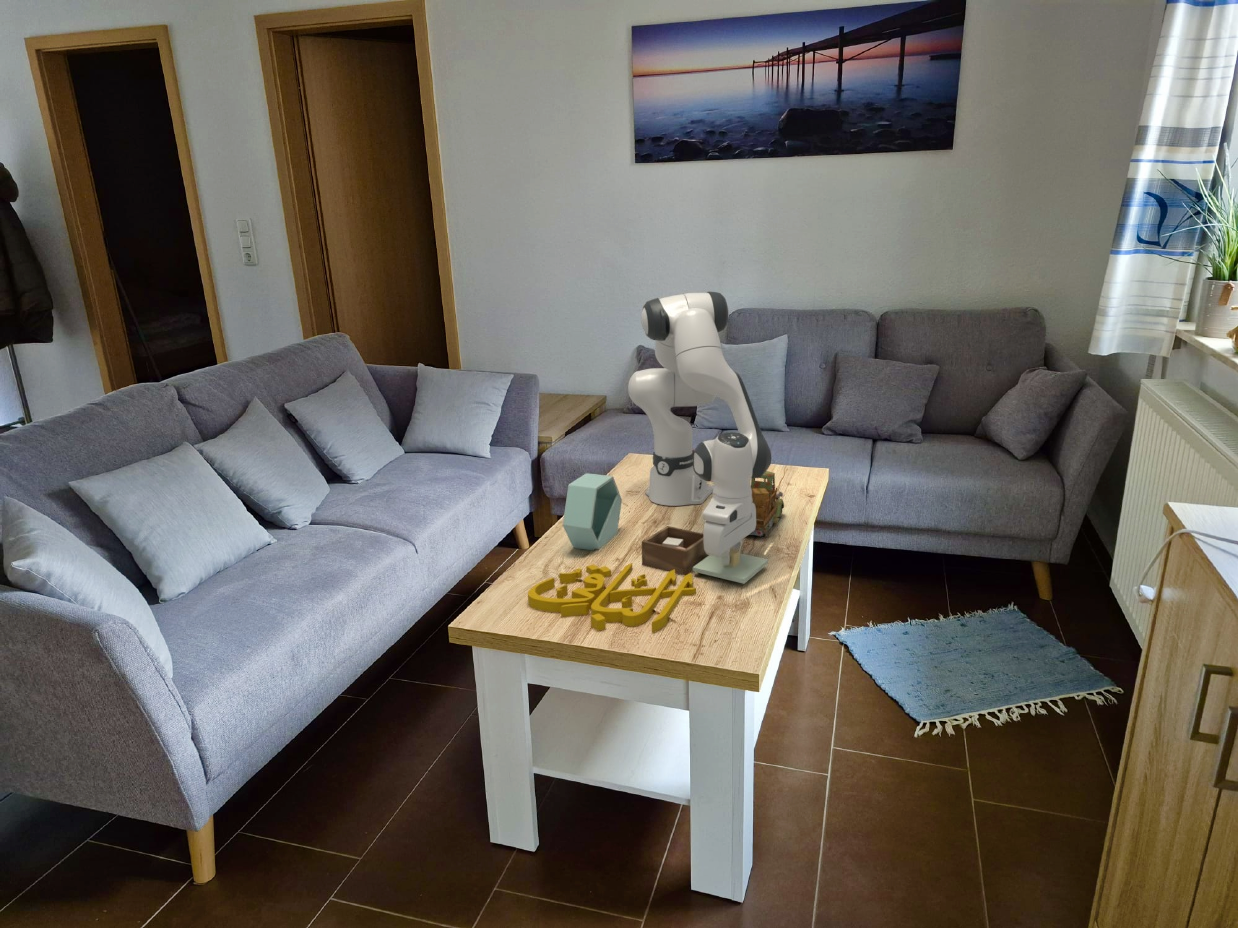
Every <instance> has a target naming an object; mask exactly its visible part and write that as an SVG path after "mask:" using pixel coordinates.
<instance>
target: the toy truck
mask: <svg viewBox="0 0 1238 928" xmlns="http://www.w3.org/2000/svg"><path fill="white" fill-rule="evenodd" d="M775 476H776V473H775V472H772V471H768V470H767V471H766V472H765V473H764V474H763V475H762V476H761V477H760V478H759V479H763V481H759V480H756V478H751V481H750V485H751V489H752V499H753V501H752V503H754V504H755V508H756V528H755V530H754V531H753V532H752V533H750V534H749V535H751V536H758V537H760V538H763V539H767V538H768V535H769V530H770V529H771V528H772V526H773V524H777V523H778V522H779V520H780V519H781V517H782V515H783V510H784V508H785V504H784V503H785V502H784V500H783V499H782V497H784V494H783V492H782V491H779V492H778V487H776V479H775Z"/></svg>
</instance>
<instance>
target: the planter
mask: <svg viewBox="0 0 1238 928" xmlns="http://www.w3.org/2000/svg"><path fill="white" fill-rule="evenodd" d="M616 483H617V482H616V480H615V477H614V476H613V475H604V474H597V473H588V472H586V473H584V474H583V475H581V476H579V477H578V478H577V479H575V480H573V481H571V483H569V484H568V485H567V491H566V492H567V494H566V501H565V506H564V514H563V519H562V527H563V529H564V532H565V533H566V536H567V538H568V540H569V542H570V543H571V546H572V548H573V549H580V550H586V551H595V550H600V549H602V548H603V547H604V546H605V545H606V544H607V543H609V542H610V541H611V540H612V539H613V538H614V537H616V536H617V535H618V531H619V530H618V529H619V523H620V515H621V510H622V509H621V508H622V503H623V500H622V497H621V494H620V491H619V489H618V488H619V487H618V486H617V484H616Z"/></svg>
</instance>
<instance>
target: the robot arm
mask: <svg viewBox="0 0 1238 928" xmlns="http://www.w3.org/2000/svg"><path fill="white" fill-rule="evenodd" d="M729 317H730V308H729V305H728V303H727V299H726V297H725V296H724V295H723V294H722V293H720V292H718V291H707V292H688V293H687V292H686V293H680V294H676V295H670V296H665V297H662V298H658V297H656V298H652V299H649V300H647V301H646V302H645V303H644V305H643V306H642V312H641V315H640V320H641V321H640V322H641V327H642V329H643V332H644V334H645V336H646V337H648V338H649V339H650V340H651V341H655V342H654V345H655V346H654V355H655V358H656V360H657V362H658V363H659V364H660V365H661V366H662V367H663V368H660V367H659V368H658V367H657V368H654V367H653V368H647V369H642V370H637V371H635V372H634V373H633V374H632V375H631V376H630V378H629V379H628V380H629V381H628V385H627V392H628V393H627V394H628V395H629V398H630V400H631V401H632V402H633V404H635V405H636V406H637V407H639V408H640V409H642V411H643V412H644V413H645V414H646V416H647V417H648V419H649V421H650V423H651V426H652V430H653V443H654V444H653V445H654V450H653V452H652V465H653V466H652V467H651V468H650V469H649V479H648V489H645V495H647V496H648V498H649V499H648V500H649V501H650V502H652V503H653V504H654V503H655V504H657V505H661V506H669V507H673V506H674V507H675V506H676V507H678V506H688V505H702V504H703V503H704V502H705V501H706V499H708V498H709V496H710V495H712V497H711V498H710V501H709V503H708V504H707V506H706V507H705V508H704V510H703V511H702V520H703V521H705V522H704V525H703V534H704V535H703V537H704V550H705V552H706V554H708V555H712V556H717V557H719V556H721V557H722V564H723V565H729V564H730V563H731V556H730V555H729V552H730V549H735V550H739V551H740V552H741V548H742V545H743V542H744V541H743V540H744V539H745V538H746V537H747V536H749V535H750V533H752V532H753V531H754V530H755V528H756V508H755V504H754V503H752V501H753V499H752V489H751V478H755V479H761V478H760V477H761V476H762V475H763V474H764V473H765V472H766V471H768V469H769V468H770V467H771V463H772V452H771V449H770V446H769V444H768V442H767V440H766V439H765V437H764V434H763V432H762V430H761V427H760V424H759V422H758V419H757V416H756V414H755V410H754V408H753V405H752V402H751V399H750V396H749V393H748V391H747V388H746V386H745V383H744V381H743V379H742V377H741V375H740V374H739V373H738V372H736V371H734V370H733V369H732V368H731V367H730V366H729V363H728V362H727V361H726V359H725V356H724V354H723V349H722V345H721V339H720V337H719V333H720V332H722V331H724V330H725V329H726V327H727V326H728V323H729ZM716 398H718V399H720V400H722V401H724V402H725V403H726V404H727V406H729V409H730V410H731V414H732V417H733V419H734V422H735V425H736V428H737V431H738V432H735V431H733V432H732V431H726V432H723V433H720V434H718V435H717V437H716V438H714V439H709V440H705V441H701V442H699V443H698V444H697V445H696V447H695V449H693V428H692V425H691V424H690V423H689V421H687V420H686V419H684V418H682V417H679V416H678V415H675V414H674V413H673V412H672V411H671V408H673V407H697V406H704V405H708V404H712V403H713V402H714V401H715V400H716ZM708 482H710V483H712V484H713V485H712V484H710V483H708Z"/></svg>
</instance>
